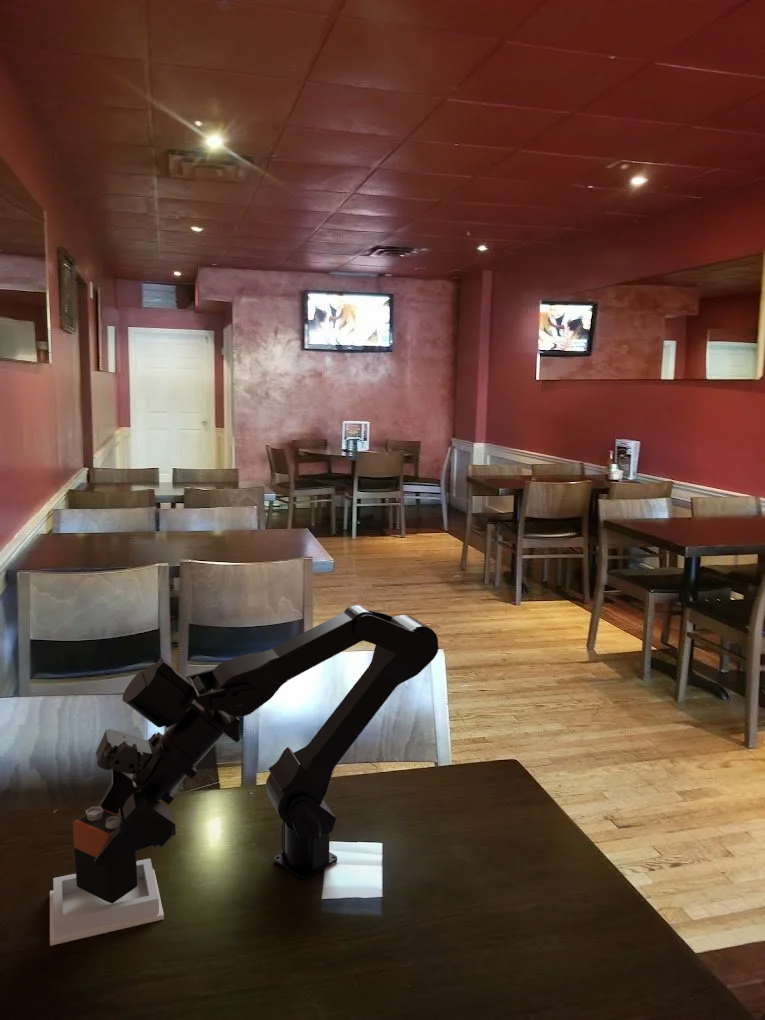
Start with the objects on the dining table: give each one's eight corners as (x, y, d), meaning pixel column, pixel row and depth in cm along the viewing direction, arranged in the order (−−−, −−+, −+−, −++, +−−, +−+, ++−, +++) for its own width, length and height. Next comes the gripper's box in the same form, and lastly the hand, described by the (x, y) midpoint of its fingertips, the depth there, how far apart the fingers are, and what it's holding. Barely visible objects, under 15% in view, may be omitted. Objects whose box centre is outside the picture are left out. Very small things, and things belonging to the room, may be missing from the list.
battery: (103, 869, 103) (99, 798, 101) (139, 887, 100) (136, 813, 98) (74, 888, 99) (70, 814, 98) (111, 906, 96) (107, 830, 94)
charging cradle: (154, 873, 107) (153, 855, 106) (163, 919, 98) (163, 899, 97) (50, 895, 102) (49, 876, 101) (50, 945, 93) (49, 925, 92)
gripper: (128, 683, 106) (43, 774, 103) (143, 741, 89) (41, 852, 86) (189, 730, 110) (108, 818, 108) (214, 793, 93) (119, 900, 91)
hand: (94, 843), depth 98 cm, fingers open, 9 cm apart
